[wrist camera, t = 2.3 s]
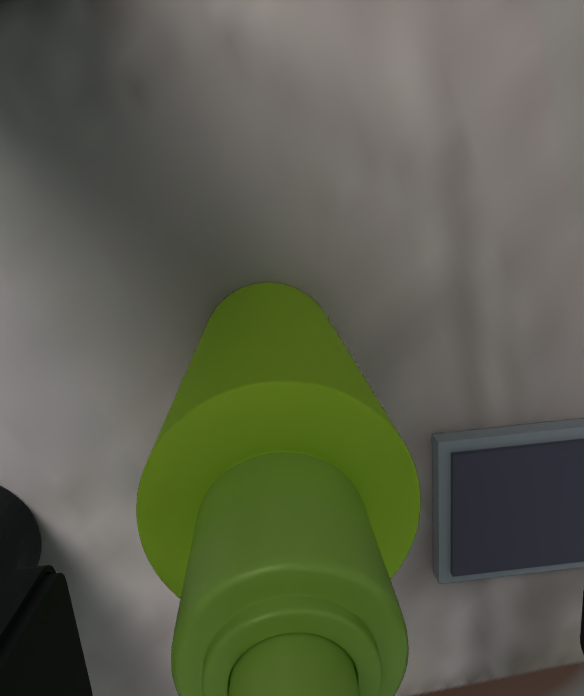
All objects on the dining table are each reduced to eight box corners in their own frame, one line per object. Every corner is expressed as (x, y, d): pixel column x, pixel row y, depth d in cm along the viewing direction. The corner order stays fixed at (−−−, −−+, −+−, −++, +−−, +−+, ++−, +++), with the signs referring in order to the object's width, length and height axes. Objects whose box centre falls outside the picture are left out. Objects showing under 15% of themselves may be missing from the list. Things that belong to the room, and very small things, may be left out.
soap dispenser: (330, 426, 24) (602, 1267, 5) (188, 387, 23) (-142, 1247, 4) (372, 311, 23) (974, 868, 4) (223, 265, 22) (-27, 689, 3)
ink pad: (432, 434, 25) (440, 445, 24) (631, 413, 25) (648, 423, 24) (433, 571, 27) (441, 588, 26) (616, 550, 27) (631, 565, 26)
